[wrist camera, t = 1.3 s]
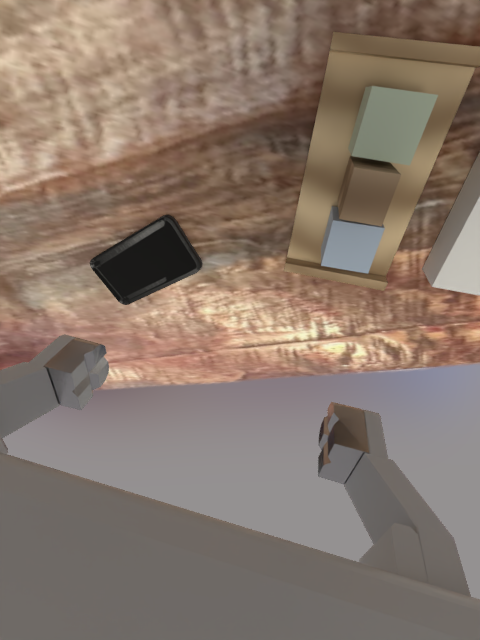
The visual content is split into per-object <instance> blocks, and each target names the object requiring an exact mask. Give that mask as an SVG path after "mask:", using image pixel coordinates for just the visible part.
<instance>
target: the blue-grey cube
mask: <svg viewBox="0 0 480 640" xmlns="http://www.w3.org/2000/svg"><path fill="white" fill-rule="evenodd" d="M384 229H385V227H384V225H383V224H382V226H376V225H371V224H365V223H359V222H353V221H348V220H342V219H339V211H338V207H334V206H332V207H331V211H330V215H329V219H328V223H327V227H326V231H325V235H324V239H323V243H322V246H321V266H326V267H331V268H337V269H343V270H349V271H355V272H361V273H367V274H368V273H369V270H370V267H371V264H372V262H373V259H374V256H375V254H376V251H377V248H378V246H379V243H380V240H381V237H382V235H383V232H384Z"/></svg>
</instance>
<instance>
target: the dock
mask: <svg viewBox="0 0 480 640" xmlns="http://www.w3.org/2000/svg"><path fill="white" fill-rule="evenodd" d="M422 270H423V272H424V273H425V275H426V277H427V279H428V281H429V282H430V284H431V286H432V287H437V288H442V289H448V290H453V291H458V292H464V293H469V294H475V295H480V152H479V154H478V156H477V158H476V160H475V162H474V164H473V166H472V168H471V170H470V172H469V174H468V176H467V178H466V180H465V182H464V184H463V186H462V189H461V191H460V193H459V195H458V197H457V199H456V201H455V203H454V205H453V207H452V209H451V211H450V213H449V215H448V217H447V219H446V221H445V223H444V225H443V227H442V229H441V231H440V233H439V236H438V238H437V240H436V242H435V244H434V246H433V248H432V250H431V252H430V254H429V256H428V258H427V260H426V262H425V264H424V266H423V268H422Z"/></svg>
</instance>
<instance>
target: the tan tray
mask: <svg viewBox="0 0 480 640" xmlns="http://www.w3.org/2000/svg"><path fill="white" fill-rule="evenodd" d="M476 67H480V47H477V46H467V45H458V44H448V43H438V42H428V41H419V40H409V39H399V38H390V37H380V36H370V35H360V34H351V33H341V32H333V37H332V41H331V46H330V53H329V58H328V62H327V67H326V72H325V77H324V82H323V86H322V91H321V96H320V101H319V106H318V110H317V115H316V120H315V125H314V130H313V134H312V139H311V144H310V149H309V154H308V158H307V163H306V168H305V173H304V178H303V183H302V187H301V192H300V197H299V202H298V207H297V211H296V216H295V221H294V226H293V231H292V235H291V240H290V245H289V250H288V255H287V259H286V263H285V268H284V271H286V272H291V273H296V274H301V275H306V276H311V277H317V278H322V279H327V280H332V281H337V282H342V283H347V284H352V285H357V286H362V287H367V288H372V289H377V290H382V291H384V290H385V288H386V286H387V283H388V282H387V279H386V274H387V272H388V270H389V267H390V265H391V263H392V260H393V258H394V256H395V254H396V251H397V249H398V247H399V244H400V242H401V240H402V237H403V235H404V233H405V230H406V228H407V226H408V223H409V221H410V219H411V216H412V214H413V212H414V209H415V207H416V205H417V202H418V200H419V198H420V195H421V193H422V191H423V188H424V186H425V184H426V181H427V179H428V177H429V175H430V172H431V170H432V168H433V165H434V163H435V161H436V158H437V156H438V154H439V151H440V149H441V147H442V144H443V142H444V140H445V137H446V135H447V133H448V130H449V128H450V126H451V123H452V121H453V119H454V116H455V114H456V112H457V109H458V107H459V105H460V103H461V100H462V98H463V96H464V93H465V91H466V89H467V86H468V84H469V82H470V79H471V77H472V75H473V72H474V70H475V68H476ZM369 86H377V87H384V88H392V89H399V90H406V91H413V92H420V93H428V94H435V95H438V97H437V99H436V102H435V104H434V107H433V109H432V112H431V114H430V117H429V119H428V122H427V124H426V127H425V129H424V132H423V134H422V137H421V139H420V142H419V144H418V147H417V149H416V152H415V154H414V157H413V159H412V161H411V164H410V165H404V164H397V163H391V162H385V161H379V160H373V159H367V158H360V157H354V156H351V153H350V151H349V149H348V147H349V144H350V140H351V137H352V133H353V130H354V126H355V123H356V119H357V116H358V112H359V109H360V105H361V102H362V98H363V95H364V91H365V88H366V87H369ZM332 206H334V207H338V211H339V219H342V220H348V221H353V222H359V223H365V224H371V225H376V226H382V224H383V225H384V227H385V229H384V232H383V235H382V237H381V240H380V243H379V246H378V248H377V251H376V254H375V256H374V259H373V262H372V264H371V267H370V270H369V273H368V274H367V273H361V272H355V271H349V270H343V269H337V268H331V267H326V266H321V246H322V243H323V239H324V235H325V231H326V227H327V223H328V219H329V215H330V211H331V207H332Z"/></svg>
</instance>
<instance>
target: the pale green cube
mask: <svg viewBox="0 0 480 640" xmlns="http://www.w3.org/2000/svg"><path fill="white" fill-rule="evenodd" d="M437 97H438V95H435V94H428V93H420V92H413V91H406V90H399V89H392V88H384V87H377V86H369V87H366V88H365V91H364V95H363V98H362V102H361V105H360V109H359V112H358V116H357V119H356V123H355V126H354V130H353V133H352V137H351V140H350V144H349V147H348V149H349V151H350V153H351V156H354V157H360V158H367V159H373V160H379V161H385V162H391V163H397V164H404V165H410V164H411V161H412V159H413V157H414V154H415V152H416V149H417V147H418V144H419V142H420V139H421V137H422V134H423V132H424V129H425V127H426V124H427V122H428V119H429V117H430V114H431V112H432V109H433V107H434V104H435V102H436V99H437Z"/></svg>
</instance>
